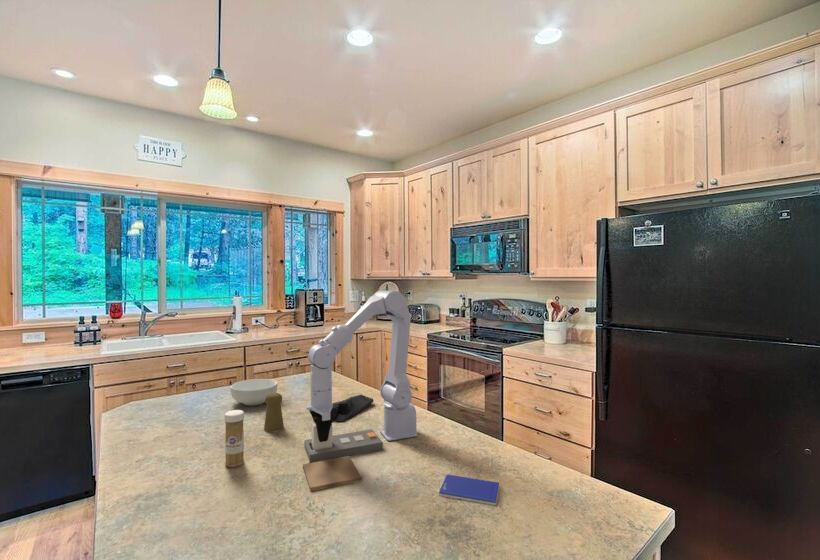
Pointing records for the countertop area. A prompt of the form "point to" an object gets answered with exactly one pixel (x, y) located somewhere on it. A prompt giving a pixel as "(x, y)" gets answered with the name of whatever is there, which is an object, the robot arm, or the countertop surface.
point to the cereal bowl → (253, 390)
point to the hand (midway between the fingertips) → (321, 437)
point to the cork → (273, 413)
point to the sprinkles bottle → (234, 438)
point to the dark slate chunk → (349, 407)
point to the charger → (315, 440)
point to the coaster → (331, 473)
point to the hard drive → (470, 489)
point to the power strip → (345, 445)
